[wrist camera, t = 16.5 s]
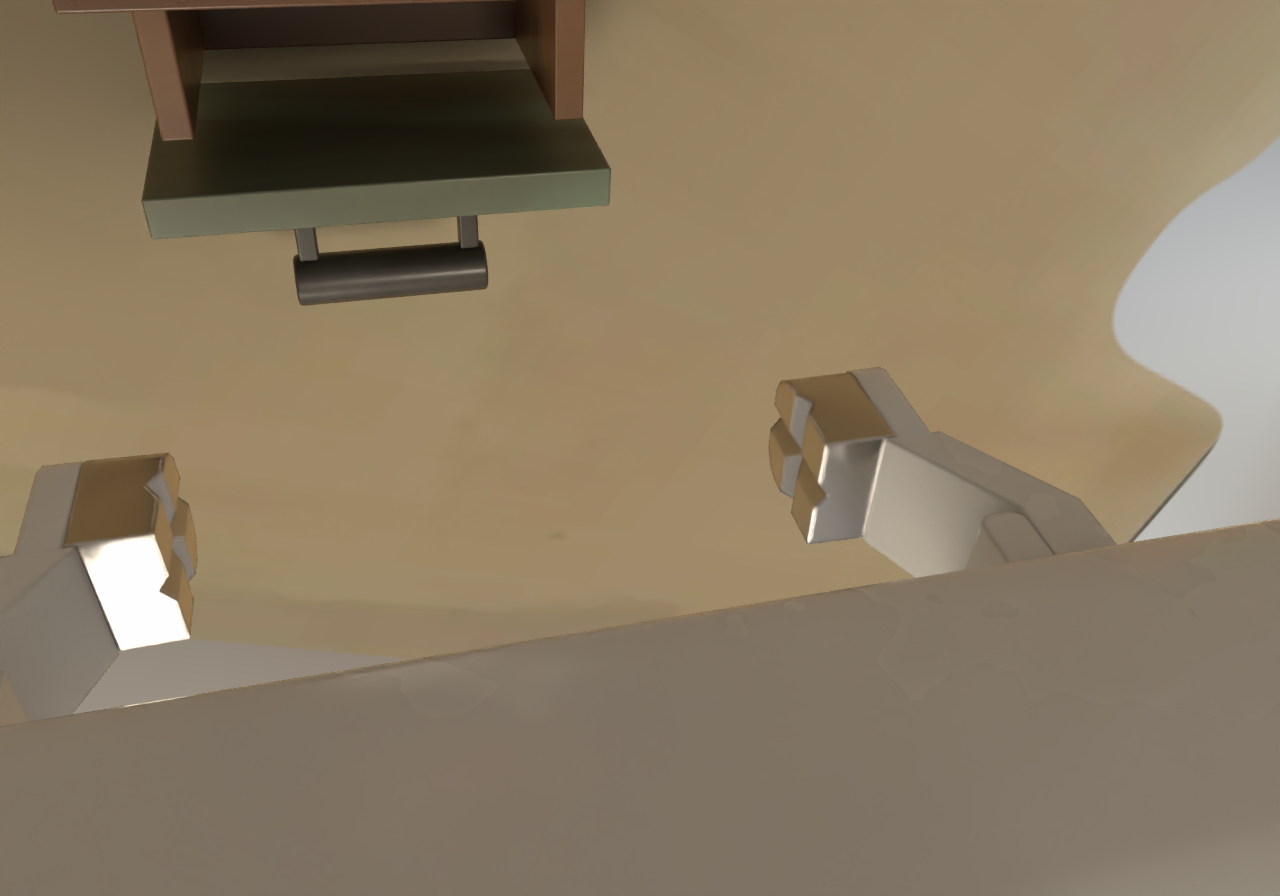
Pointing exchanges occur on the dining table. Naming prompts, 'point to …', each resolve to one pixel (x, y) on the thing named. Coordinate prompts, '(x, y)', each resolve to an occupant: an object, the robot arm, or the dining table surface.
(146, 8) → the cabinet
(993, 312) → the dining table surface
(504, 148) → the drawer
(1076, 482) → the dining table surface
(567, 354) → the dining table surface
